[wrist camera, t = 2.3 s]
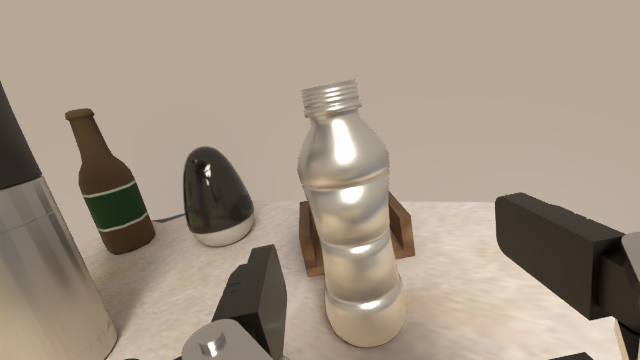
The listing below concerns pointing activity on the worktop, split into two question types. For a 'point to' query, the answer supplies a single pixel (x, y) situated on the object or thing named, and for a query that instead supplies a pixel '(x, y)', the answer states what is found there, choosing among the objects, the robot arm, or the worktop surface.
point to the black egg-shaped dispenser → (215, 198)
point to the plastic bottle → (351, 216)
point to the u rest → (310, 237)
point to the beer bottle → (109, 189)
